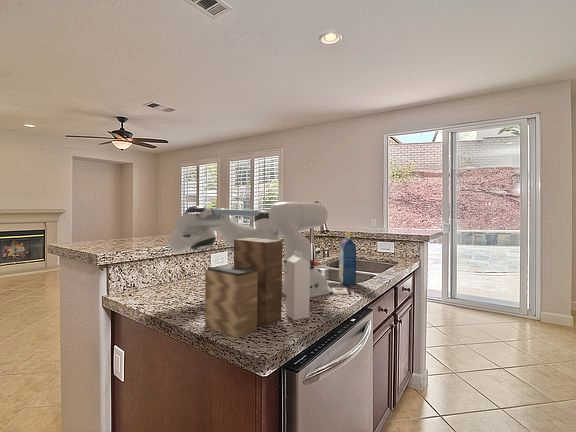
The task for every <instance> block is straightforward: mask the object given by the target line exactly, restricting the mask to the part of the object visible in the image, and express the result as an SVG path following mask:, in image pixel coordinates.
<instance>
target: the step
mask: <svg viewBox="0 0 576 432" xmlns="http://www.w3.org/2000/svg"><path fill="white" fill-rule="evenodd" d="M204 273H205V284H204V286H205V294H204V295H205V298H204V299H205V303H204V309H205V310H204V312H205V314H204V319H205V321H204V324H205V325H204V327H205V328H209V329H211V330H214V331H217V332H220V333H223V334H225V335H228V336H231V337H234V338H237V339H240V338H241V337H244V336H246V335H248V334H250V333H252V332H254V331H256V330H258V325H257V288H258V272H255V270H253V269H247V268H241V267H235V266H234V265H229V264H221V265H218V266H212V267H208V268H207V269H206V270H205V272H204Z"/></svg>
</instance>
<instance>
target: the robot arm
mask: <svg viewBox="0 0 576 432" xmlns="http://www.w3.org/2000/svg"><path fill="white" fill-rule="evenodd" d="M204 209H207V210H206V211H204ZM213 209H214V208H205V207H204V206H201V205H193V206H190V207H188V208H186V210H185V212H184V213H183V214H182V215H181V216H180V217H179V218H178V219H175V221H174V224H175V228H176V229H175V230H174V231H173V232H172V233H171V234H170V236H169V237H168V246H169V248H170V250H172V251H173V252H174V253H183V252H184V251H187V250H189V249H190V250H193V251H204V250H207V249H209V248H210V247H212V246H214V243H216V240H217V236H216V233H215V230H214V229H217V230H218V231H219V232H218V233H220V235H221V237H222V239H223V241H224V243H226V244H227V245H229V246H231V247H234V239H242V238H260V239H271V240H280V239H279V236H280V237H282V238H283V242H284V259H283V273H284V274H283V275H284V276H283V280H282V295H284V296H286V260H287V259H289V258H290V257H291V256H293V255H294V250H295V251H299V252H302V253H303V258H305V259H306V260H308V261H310V296H309V299H310V298H315V297H320V296H323V295H328V294H330V292H333V290H332V289H331V288H330V287H328V281H327V278H326V277H325V275H323V274H322V273H321V272H319V270H317V269H316V268H315V267H318V266H319V264H320V263H319V261H317V260H312V244H311V243H312V242H311V241H310V239H309V238H307V237H305V236H304V235H302V234H300V232H302V231H305V230H309V229H314V228H319V227H322V226H325V224H326V222H327V221H328V218H329V213H328V210H327V208H326V206H325V205H324V204H323V203H322V204H321V203H316V202H311V201H307V202H306V201H305V202H304V201H303V202H302V201H282V202H275V203H273V204H272V205H271V206H270V208H269V210H261V211H258V216H253V223H254V227H255V228H254V227H253V226H250V225H247V224H241V223H238V222H236V221H235V220H232V219H231V217H230V215H221V214H212V213H213ZM220 209H226V208H220Z"/></svg>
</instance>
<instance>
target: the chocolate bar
mask: <svg viewBox="0 0 576 432" xmlns="http://www.w3.org/2000/svg"><path fill="white" fill-rule="evenodd" d="M339 283H340V284H339ZM327 286H329V287H330V288H331V289H332V290H333V292H330V293H329V294H330V295H338V294H352V293H353V292H352V291H351V290H350V288H349V287H350V286H348V285H343V284H342V283H341V282H327Z"/></svg>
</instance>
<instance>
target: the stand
mask: <svg viewBox="0 0 576 432" xmlns="http://www.w3.org/2000/svg"><path fill="white" fill-rule="evenodd" d="M233 266H235V267H241V268H247V269H253V270H255V272H258V288H257V326H261V327H263V328H264V327H265V328H267V327H269V326H271V325H273V324H275V323H277V322H279V321H281V320H282V311H283V310H282V305H283V304H282V303H283V302H282V299H283V297H282V296H283V293H282V286H283V240H280V239H279V240H271V239H260V238H242V239H234V246H233Z"/></svg>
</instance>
